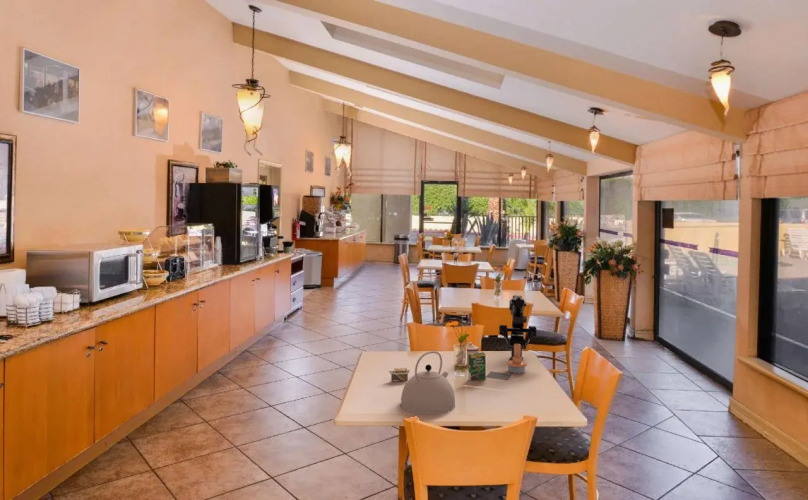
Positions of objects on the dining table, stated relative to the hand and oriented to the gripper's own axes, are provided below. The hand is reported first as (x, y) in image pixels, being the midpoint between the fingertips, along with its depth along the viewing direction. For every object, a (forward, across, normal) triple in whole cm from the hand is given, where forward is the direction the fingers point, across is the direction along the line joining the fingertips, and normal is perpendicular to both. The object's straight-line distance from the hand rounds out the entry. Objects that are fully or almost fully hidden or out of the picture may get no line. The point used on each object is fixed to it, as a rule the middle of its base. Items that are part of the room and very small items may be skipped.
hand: (517, 344), depth 291 cm
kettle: (+50, -36, -32) cm, 70 cm away
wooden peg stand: (+9, 0, +4) cm, 10 cm away
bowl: (+12, 0, +7) cm, 14 cm away
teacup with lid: (+5, -26, +14) cm, 30 cm away
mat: (+19, -8, 0) cm, 20 cm away
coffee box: (+24, -19, -6) cm, 31 cm away
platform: (+31, -54, -12) cm, 64 cm away
